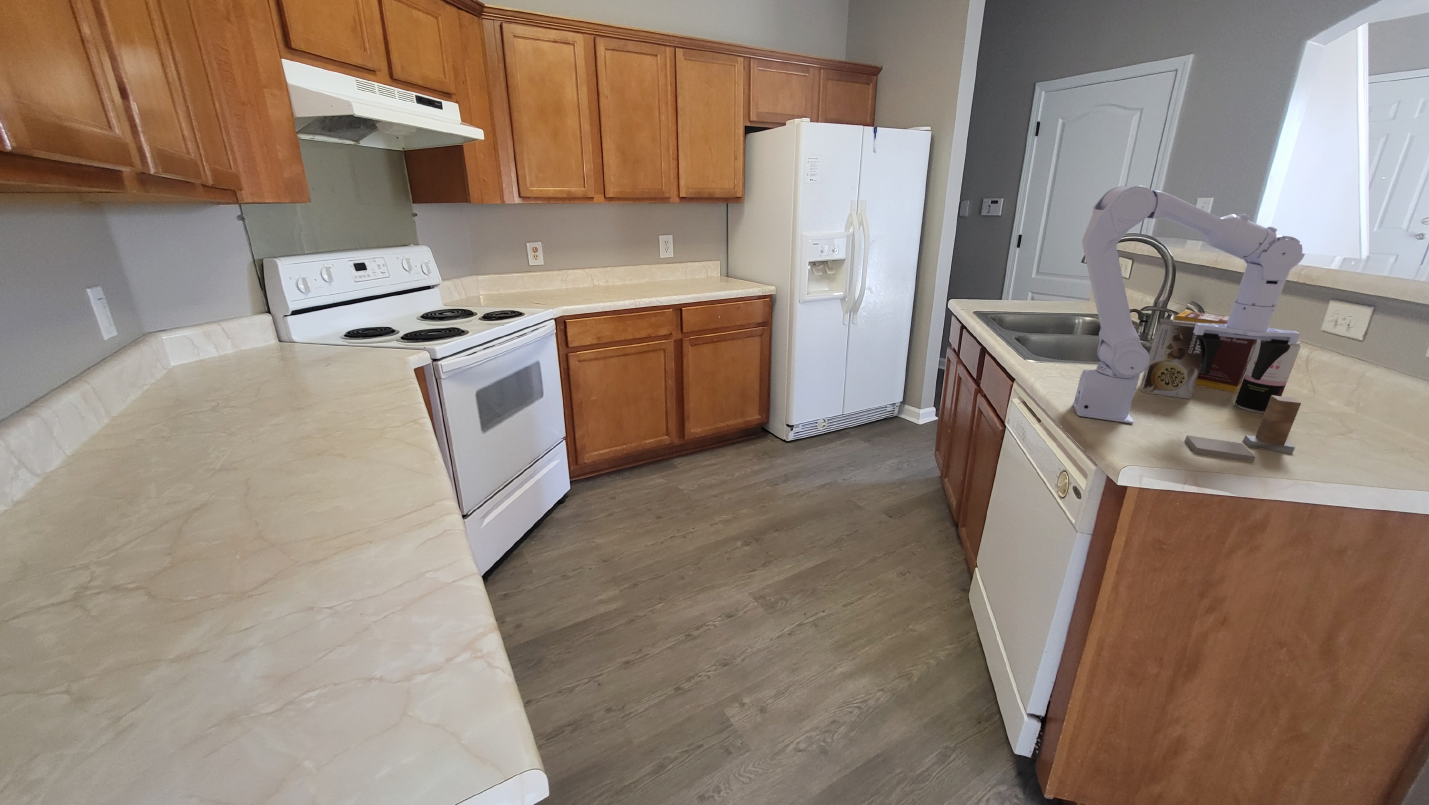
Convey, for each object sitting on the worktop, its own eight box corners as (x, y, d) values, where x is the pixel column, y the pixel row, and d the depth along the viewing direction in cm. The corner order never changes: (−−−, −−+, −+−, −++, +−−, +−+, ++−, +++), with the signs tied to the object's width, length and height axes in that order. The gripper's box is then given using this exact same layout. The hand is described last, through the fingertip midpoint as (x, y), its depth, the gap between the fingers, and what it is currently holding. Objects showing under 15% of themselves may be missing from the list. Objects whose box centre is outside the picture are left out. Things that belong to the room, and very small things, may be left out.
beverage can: (1244, 401, 125) (1269, 334, 120) (1281, 411, 120) (1309, 342, 115) (1227, 405, 123) (1251, 337, 118) (1264, 415, 117) (1291, 345, 112)
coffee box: (1187, 392, 131) (1210, 323, 125) (1190, 400, 126) (1214, 328, 120) (1139, 384, 135) (1158, 317, 130) (1140, 392, 130) (1161, 322, 125)
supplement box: (1236, 393, 131) (1260, 326, 125) (1155, 377, 141) (1174, 314, 136) (1242, 384, 137) (1266, 320, 132) (1165, 369, 148) (1183, 309, 143)
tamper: (1249, 447, 103) (1267, 398, 99) (1242, 440, 105) (1260, 393, 102) (1292, 453, 100) (1312, 404, 97) (1284, 447, 103) (1304, 399, 100)
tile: (1184, 443, 105) (1194, 456, 100) (1186, 435, 104) (1197, 447, 99) (1238, 451, 102) (1252, 465, 97) (1241, 443, 101) (1255, 456, 96)
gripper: (1212, 303, 102) (1189, 376, 107) (1318, 311, 97) (1289, 387, 102) (1199, 297, 108) (1178, 366, 113) (1299, 304, 103) (1271, 376, 108)
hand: (1229, 375), depth 108 cm, fingers open, 7 cm apart
